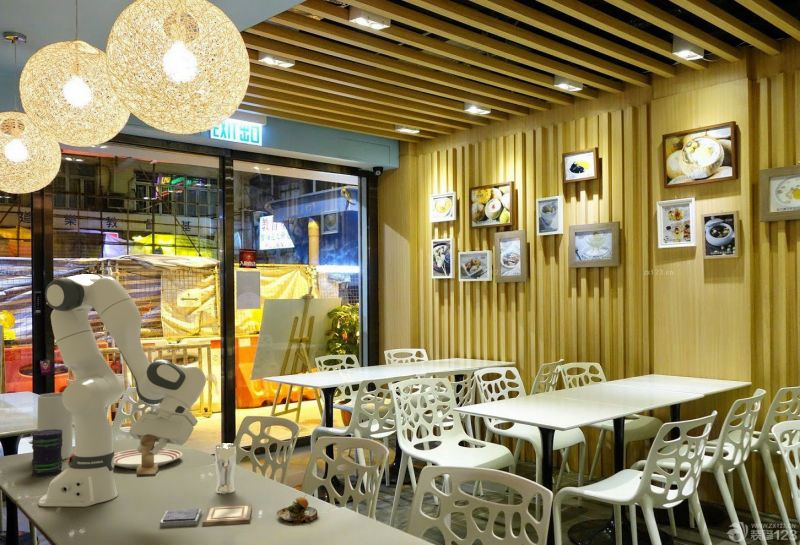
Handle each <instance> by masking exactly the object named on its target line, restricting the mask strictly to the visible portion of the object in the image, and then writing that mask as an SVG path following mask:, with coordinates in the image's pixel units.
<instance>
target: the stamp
mask: <svg viewBox="0 0 800 545" xmlns="http://www.w3.org/2000/svg"><path fill="white" fill-rule="evenodd" d="M155 444H156V442H155V437H154V436H153V435H151V434H147V435H144V436H143V437H142V439H141V445H142V461H141V464H140V466H139V467H138V468H137V469H136V478H145V477H147V478H153V477H156V476H157V474H158V473H159V466H158V464H154V455H152V454H151V453H150V452H149V451H150V449H151V448H152V446H153V447H154V446H155Z"/></svg>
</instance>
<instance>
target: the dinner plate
mask: <svg viewBox="0 0 800 545" xmlns="http://www.w3.org/2000/svg"><path fill="white" fill-rule="evenodd" d="M137 449H138V448H137ZM137 449H136V448H135V449H129V450H128V449H127V450H122V451H119V452H114V456H115V463H114V466H118V467H121V468H124V469H132V470H133V469H134V470H137V468H138V467H139V466H140V464H141V461H142V453H139V452H138V451H137ZM182 456H183V452H181V451H179V450H177V449H172V448H162V449H161V450H159V451H158V453H157V455H154V464H158V467H162V466H165V465H167V464H169V463H171V462H174V461H177V460H178V459H179V458H181V457H182Z"/></svg>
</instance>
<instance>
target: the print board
mask: <svg viewBox="0 0 800 545" xmlns="http://www.w3.org/2000/svg"><path fill="white" fill-rule="evenodd" d="M252 507H253V506H252V505H251V504H250V505H247V504H246V505H231V506H228V505H227V506H213V507H212V506H211V507H210V506H209V507H207V508H206V512H205V513H204V516H203V519H202V522H201V524H202V527H203V526H219V525H235V524H239V525H241V524H250V523H251V515H252V509H253V508H252Z"/></svg>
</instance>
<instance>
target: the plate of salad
mask: <svg viewBox="0 0 800 545" xmlns="http://www.w3.org/2000/svg"><path fill="white" fill-rule="evenodd" d="M306 494H307V493H305V496H306ZM305 496H304V497H303V496H300V497H299V496H298V497H296V498H295V501H296V502H295V501H293V502H292V505H289V506H288V507H283V508H282V509H280V510H278V511H277V512H276V515H277V516H278V517H279V518H281V519H282V520H285V521H288V522H289V521H290V522H291V521H292V522H294V525H301V524H303V523H302V522H303V521H305V522H306V523H310V522H313V521H314V520H315V519H318V510H317V509H316V508H315V507H312V506H309V501H308V499H307V498H306V497H305Z"/></svg>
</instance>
